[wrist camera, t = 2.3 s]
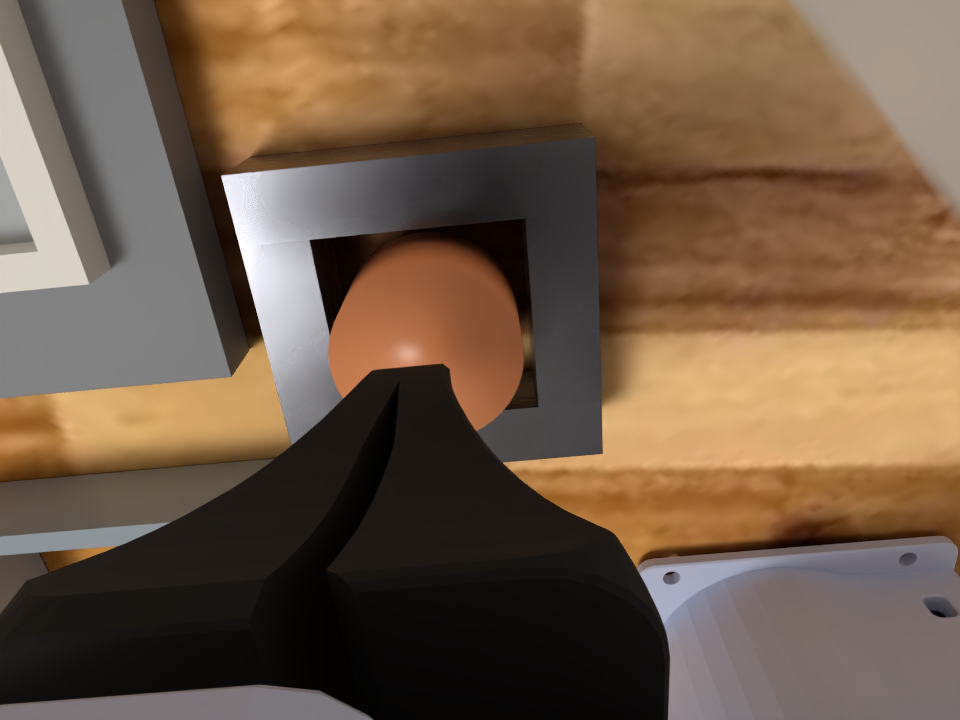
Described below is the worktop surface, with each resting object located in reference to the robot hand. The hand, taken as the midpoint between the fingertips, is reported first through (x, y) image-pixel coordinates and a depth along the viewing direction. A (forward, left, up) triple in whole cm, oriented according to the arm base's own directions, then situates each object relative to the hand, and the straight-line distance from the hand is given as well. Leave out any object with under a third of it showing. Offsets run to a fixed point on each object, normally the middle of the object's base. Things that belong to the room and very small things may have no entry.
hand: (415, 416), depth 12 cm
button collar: (0, 0, -6) cm, 6 cm away
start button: (0, 0, -5) cm, 5 cm away
